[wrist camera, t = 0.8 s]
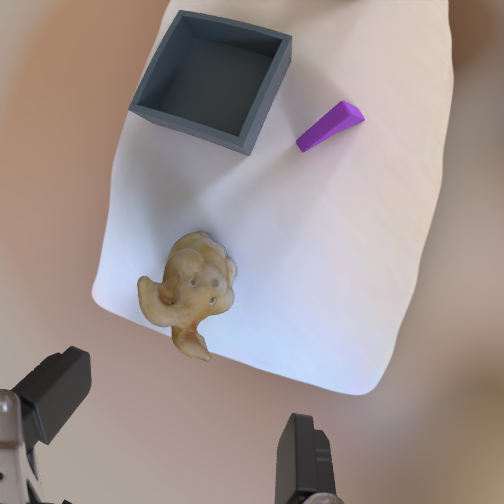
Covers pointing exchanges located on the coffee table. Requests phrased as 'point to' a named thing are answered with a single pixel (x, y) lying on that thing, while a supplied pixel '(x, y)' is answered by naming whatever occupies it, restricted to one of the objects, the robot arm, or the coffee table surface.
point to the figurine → (190, 291)
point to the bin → (214, 79)
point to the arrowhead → (330, 125)
